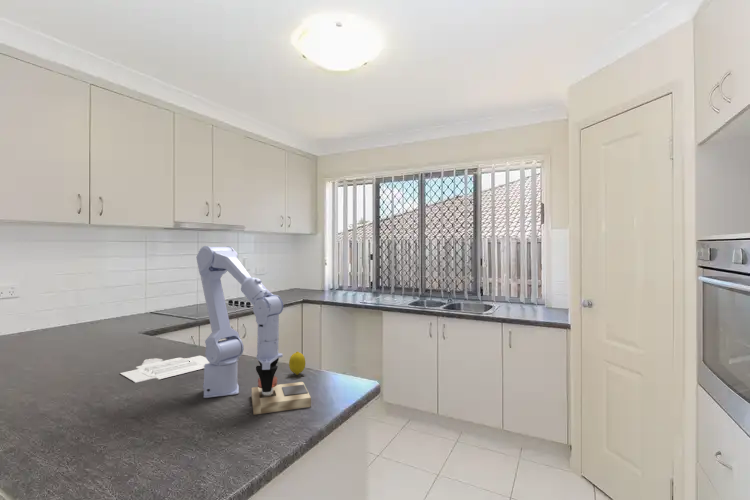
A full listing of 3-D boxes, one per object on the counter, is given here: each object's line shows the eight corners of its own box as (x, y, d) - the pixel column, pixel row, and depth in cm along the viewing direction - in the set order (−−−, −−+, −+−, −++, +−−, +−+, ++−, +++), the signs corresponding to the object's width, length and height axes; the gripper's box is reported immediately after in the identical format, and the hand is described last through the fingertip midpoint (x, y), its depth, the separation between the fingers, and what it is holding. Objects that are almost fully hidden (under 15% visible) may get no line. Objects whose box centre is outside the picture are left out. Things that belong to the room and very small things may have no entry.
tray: (222, 366, 139) (222, 356, 139) (139, 390, 116) (139, 379, 116) (195, 356, 151) (195, 347, 151) (115, 376, 129) (115, 366, 129)
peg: (276, 406, 102) (276, 380, 102) (256, 407, 101) (256, 381, 101) (277, 398, 107) (277, 374, 107) (258, 399, 106) (259, 374, 106)
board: (253, 414, 96) (253, 403, 96) (251, 396, 109) (251, 386, 109) (310, 406, 102) (311, 396, 102) (302, 389, 114) (302, 380, 114)
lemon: (301, 378, 124) (301, 354, 124) (286, 376, 126) (286, 353, 126) (307, 372, 130) (308, 350, 130) (293, 371, 131) (293, 349, 131)
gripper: (282, 344, 98) (281, 396, 98) (283, 332, 112) (282, 377, 112) (254, 346, 96) (253, 398, 96) (259, 333, 110) (258, 379, 110)
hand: (267, 387), depth 104 cm, fingers closed on peg, 5 cm apart
